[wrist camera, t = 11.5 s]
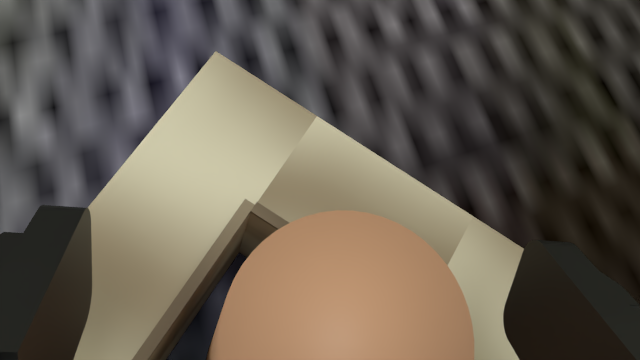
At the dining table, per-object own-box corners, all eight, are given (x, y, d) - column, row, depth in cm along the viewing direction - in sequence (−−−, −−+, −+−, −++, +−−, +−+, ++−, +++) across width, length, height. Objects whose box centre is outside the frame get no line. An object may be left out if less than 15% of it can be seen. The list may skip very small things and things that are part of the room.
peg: (246, 287, 20) (309, 164, 9) (337, 347, 20) (513, 297, 9) (182, 385, 19) (162, 382, 8) (279, 449, 19) (401, 538, 8)
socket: (212, 122, 22) (215, 48, 17) (495, 305, 22) (579, 281, 17) (-29, 434, 17) (-115, 451, 13) (323, 668, 17) (371, 775, 12)
